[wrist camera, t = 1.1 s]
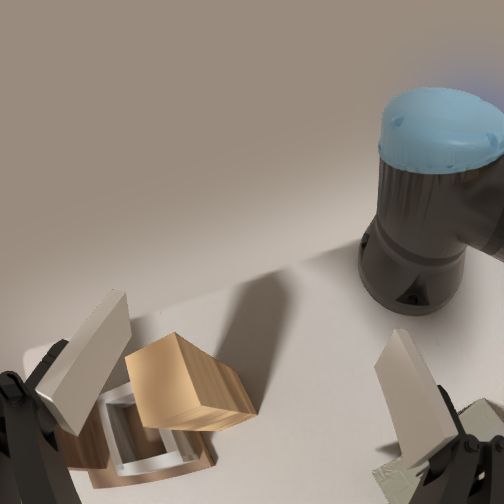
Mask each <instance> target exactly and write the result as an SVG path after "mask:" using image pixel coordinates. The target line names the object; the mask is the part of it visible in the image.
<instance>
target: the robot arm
mask: <svg viewBox="0 0 504 504" xmlns="http://www.w3.org/2000/svg"><path fill="white" fill-rule="evenodd" d="M378 148H379V150H378V151H379V155H380V166H379V187H378V202H377V214H376V215H375V217H374V219H373V220H372V222H371V223H370V225H369V227H368V228H367V230H366V231H365V233H364V235H363V237H362V240H361V243H360V247H359V256H358V268H359V273H360V277H361V280H362V282H363V284H364V286H365V288H366V289H367V291H368V292H369V294H370V295H371V296H372V297H373V298H374V299H375V300H376V301H377V302H378V303H380V304H381V305H382V306H384V307H385V308H387V309H389V310H391V311H393V312H396V313H399V314H403V315H409V316H420V315H426V314H429V313H432V312H434V311H436V310H438V309H440V308H441V307H443V306H444V305H445V304H446V303H447V302H448V301H449V300H450V298H451V297H452V296H453V294H454V293H455V291H456V290H457V288H458V286H459V284H460V282H461V279H462V275H463V267H464V259H465V249H466V247H467V245H469V246H471V247H473V248H475V249H478V250H480V251H482V252H484V253H486V254H488V255H490V256H492V257H494V258H496V259H498V260H500V261H502V262H504V115H503V113H502V112H501V111H500V110H499V109H498V108H496V107H495V106H494V105H492V104H491V103H489V102H484V101H482V99H481V98H480V97H477V96H475V95H472V94H469V93H466V92H463V91H459V90H454V89H448V88H438V87H429V88H428V87H427V88H417V89H412V90H408V91H405V92H402V93H400V94H398V95H396V96H395V97H393V98H392V99H391V100H390V101H389V102H388V104H387V105H386V107H385V108H384V111H383V114H382V125H381V138H380V140H379V144H378ZM131 336H132V332H131V326H130V319H129V313H128V305H127V297H126V292H123V291H119V290H114V289H112V290H111V291H110V293H109V294H108V295H107V296H106V297H105V298H104V299H103V300H102V302H101V303H100V304H99V305H98V306H97V308H96V309H95V310H94V311H93V312H92V314H91V315H90V316H89V318H88V319H87V320H86V321H85V322H84V323H83V325H82V326H81V327H80V328H79V330H78V331H77V332H76V334H75V335H74V336H73V337H72V339H71V340H70V341H67V340H64V339H62V340H60V341H59V342H57V343H55V344H54V345H53V346H52V347H51V348H50V350H49V351H48V352H47V355H45V356H44V357H43V359H42V361H40V363H39V364H38V365H37V367H36V368H35V369H34V371H33V372H32V374H31V375H30V376H29V378H28V379H27V380H26V382H25V383H23V381H22V379H21V378H20V376H19V375H18V374H17V373H15V372H13V371H5V372H3V373H1V374H0V504H21V501H22V504H82V503H81V501H80V499H79V496H78V494H77V492H76V489H75V487H74V484H73V481H72V479H71V476H70V473H69V471H68V468H67V465H66V462H65V459H64V456H63V452H62V449H61V446H60V442H59V438H58V435H57V431H56V429H55V426H56V424H57V422H58V424H59V425H60V426H61V428H62V429H63V430H65V431H67V432H69V433H71V434H73V435H75V436H77V437H78V435H79V433H80V431H81V429H82V427H83V425H84V423H85V421H86V419H87V417H88V415H89V413H90V411H91V409H92V407H93V405H94V403H95V401H96V399H97V398H98V396H99V394H100V392H101V390H102V388H103V386H104V384H105V382H106V381H107V379H108V377H109V375H110V373H111V372H112V370H113V368H114V366H115V364H116V363H117V361H118V359H119V357H120V355H121V354H122V352H123V350H124V348H125V347H126V345H127V343H128V342H129V340H130V338H131ZM374 368H375V370H376V373H377V376H378V379H379V382H380V384H381V387H382V390H383V393H384V396H385V399H386V402H387V405H388V408H389V411H390V415H391V418H392V421H393V424H394V428H395V431H396V434H397V438H398V441H399V445H400V448H401V452H402V456H403V459H404V463H405V467H406V470H408V469H412V468H415V467H419V466H421V465H422V464H423V463H425V462H426V461H427V460H428V462H429V465H428V466H426V467H425V468H424V469H422V470H421V471H420V472H418V473H417V474H416V477H418V476H419V475H421V474H422V473H423V472H424V473H423V475H422V476H421V477H420V481H419V484H418V486H417V488H416V490H415V492H414V494H413V496H412V498H411V500H410V502H409V504H504V437H503V436H502V435H496V436H495V437H493V438H492V439H491V440H490V441H479V440H478V439H477V437H475V436H474V435H472V434H466V432H465V430H464V428H463V426H462V423H461V421H460V419H459V417H458V414H457V412H456V410H455V409H454V406H453V404H452V402H451V399H450V397H449V395H448V393H447V392H446V391H445V390H444V388H443V387H442V386H441V385H436V383H435V381H434V379H433V377H432V375H431V373H430V371H429V369H428V367H427V365H426V363H425V362H424V360H423V358H422V356H421V354H420V352H419V350H418V349H417V347H416V345H415V343H414V341H413V340H412V338H411V336H410V334H409V333H408V331H407V329H394V331H393V333H392V335H391V337H390V339H389V341H388V343H387V345H386V346H385V348H384V350H383V352H382V354H381V356H380V357H379V359H378V361H377V363H376V364H375V366H374ZM483 472H484V478H482V479H481V480H480V479H479V475H481V474H482V473H483ZM20 498H21V501H20Z"/></svg>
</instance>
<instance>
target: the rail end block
mask: <svg viewBox="0 0 504 504" xmlns="http://www.w3.org/2000/svg"><path fill="white" fill-rule="evenodd" d="M125 361H126V365H127V370H128V374H129V378H130V382H131V386H132V390H133V394H134V397H135V401H136V404H137V408H138V411H139V415H140V418H141V421H142V424H143V427H149V428H159V429H171V430H189V431H222V430H224V429H227V428H229V427H231V426H234V425H236V424H239V423H241V422H243V421H246V420H248V419H250V418H252V417H254V416H257V415H258V414H257V412H256V410H255V408H254V406H253V404H252V402H251V400H250V398H249V396H248V394H247V392H246V390H245V388H244V386H243V384H242V382H241V380H240V377H239V375H238V373H237V372H236V371H234V370H232V369H231V368H229V367H227V366H226V365H224V364H222V363H221V362H219V361H218V360H216V359H214V358H213V357H211V356H210V355H208V354H206V353H205V352H203V351H202V350H200V349H199V348H197V347H196V346H194V345H193V344H191V343H190V342H188V341H187V340H185V339H184V338H182V337H181V336H179V335H178V334H177V333H175V332H173V333H171V334H169V335H167V336H165V337H164V338H162V339H160V340H158V341H156V342H154V343H152V344H150V345H148V346H146V347H144V348H142V349H140V350H138V351H136V352H134V353H132V354H130V355H128V356H126V357H125Z"/></svg>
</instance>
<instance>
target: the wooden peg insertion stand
mask: <svg viewBox="0 0 504 504" xmlns="http://www.w3.org/2000/svg"><path fill="white" fill-rule="evenodd" d="M55 429H56V431H57V435H58V438H59V442H60V446H61V449H62V452H63V456H64V459H65V462H66V465H67V468H68V470H74V471H88V474H89V477H90V480H91V483H92V486H93V488H94V489H99V488H111V487H120V486H128V485H135V484H141V483H147V482H152V481H158V480H163V479H167V478H172V477H176V476H180V475H184V474H188V473H192V472H195V471H199V470H202V469H206V468H209V467H212V466H215V464H214V462H213V460H212V458H211V455H210V453H209V451H208V449H207V447H206V444H205V442H204V440H203V438H202V435H201V433H200V431H189V430H171V429H159V428H149V427H143V424H142V421H141V418H140V415H139V411H138V408H137V404H136V401H135V397H134V394H133V390H132V386H131V382H128V383H126V384H124V385H121V386H119V387H117V388H114V389H112V390H109V391H107V392H105V393H102V394H100V395H99V396H98V398H97V400H96V401H95V403H94V405H93V407H92V409H91V411H90V413H89V415H88V417H87V419H86V421H85V423H84V425H83V427H82V429H81V431H80V433H79V435H78V437H77V436H75V435H73V434H71V433H69V432H67V431H65V430H63V429H62V428H61V426H60V425H59V424H58V422H57V424H56V426H55Z"/></svg>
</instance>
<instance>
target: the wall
mask: <svg viewBox="0 0 504 504" xmlns="http://www.w3.org/2000/svg"><path fill="white" fill-rule="evenodd" d="M459 419H460V421H461V423H462V426H463V428H464V430H465V432H466V434H472V435H474V436H475V437H477V439H478V440H479V441H490V440H491V439H492V438H493V437H495V436H496V435H502V436H503V437H504V423H503V421H501V420H500V418H499V417H498V415H497V414H496V413H495V412H494V410H492V408H491V407H490V405H489V404H487V402H486V401H485V399H484V398H482V399H479V400H478V401H475V402H474V403H473V405H471V406H470V407H469V408H468V409H467V410H465V411H464V412H463V414H460V415H459ZM428 465H429V462H428V460H427V461H426V462H425V463H423V464H422V465H421V466H419V467H415V468H412V469H408V470H406V467H405V463H404V459H403V456H402V455H401V456H400V457H398V458H396V459H394V460H393V461H390V462H389V463H387V464H384V465H383V466H381V467H379V468H378V469H376V470H373V471H371V472H372V474H373V476H374V475H375V477H374V478H376V479H375V480H376V481H377V483H378V485H379V486H380V487H381V489H382V492H383V493H384V495H385V497H386V499H388V502H389V504H409V502H410V500H411V498H412V496H413V494H414V492H415V490H416V488H417V486H418V484H419V481H420V477H421V476H422V475H423V473H424V472H423V473H422V474H421V475H419V476H418V477H416V474H417V473H418V472H420V471H421V470H422V469H424V468H425V467H426V466H428ZM482 478H484V472H483V473H482V474H481V475H479V479H480V480H481V479H482Z"/></svg>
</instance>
